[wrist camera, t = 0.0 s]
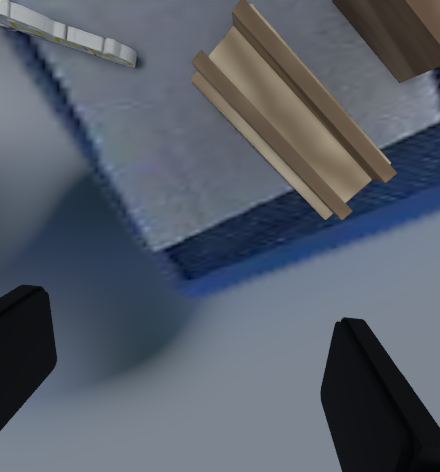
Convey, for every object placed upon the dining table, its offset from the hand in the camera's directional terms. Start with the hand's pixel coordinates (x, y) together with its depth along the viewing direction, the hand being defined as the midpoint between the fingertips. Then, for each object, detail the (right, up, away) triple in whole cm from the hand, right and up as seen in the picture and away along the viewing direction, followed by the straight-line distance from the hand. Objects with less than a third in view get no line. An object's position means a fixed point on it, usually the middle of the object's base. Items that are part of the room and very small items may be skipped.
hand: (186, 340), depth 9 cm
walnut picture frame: (+19, +26, +23) cm, 40 cm away
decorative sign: (-17, +27, +26) cm, 42 cm away
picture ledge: (+10, +17, +26) cm, 33 cm away
